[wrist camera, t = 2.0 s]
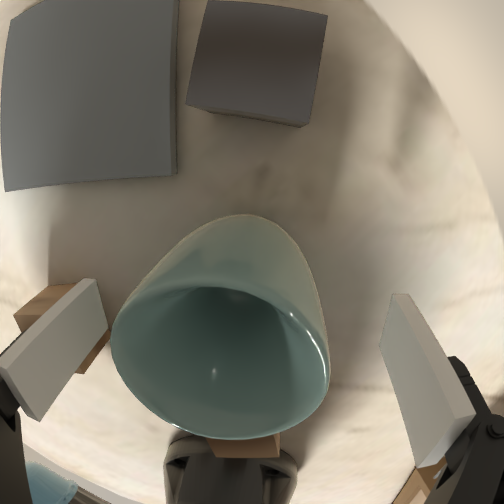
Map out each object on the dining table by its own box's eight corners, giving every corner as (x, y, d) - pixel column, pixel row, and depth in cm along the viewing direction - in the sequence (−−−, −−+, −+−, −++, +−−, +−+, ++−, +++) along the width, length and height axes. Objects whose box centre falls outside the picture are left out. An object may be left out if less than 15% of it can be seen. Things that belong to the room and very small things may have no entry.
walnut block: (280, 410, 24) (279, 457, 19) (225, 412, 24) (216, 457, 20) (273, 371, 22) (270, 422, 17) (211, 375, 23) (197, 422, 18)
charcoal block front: (300, 127, 16) (308, 123, 11) (211, 112, 16) (185, 104, 11) (314, 47, 14) (327, 15, 9) (227, 34, 14) (208, 0, 9)
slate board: (177, 173, 17) (171, 175, 16) (13, 189, 18) (5, 192, 17) (182, -41, 12) (178, -48, 11) (18, 21, 13) (10, 20, 12)
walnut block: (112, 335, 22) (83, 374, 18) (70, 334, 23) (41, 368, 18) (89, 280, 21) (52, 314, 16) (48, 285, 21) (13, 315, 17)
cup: (274, 177, 17) (268, 229, 7) (328, 289, 19) (358, 413, 10) (162, 234, 19) (71, 323, 9) (222, 330, 21) (188, 450, 11)
